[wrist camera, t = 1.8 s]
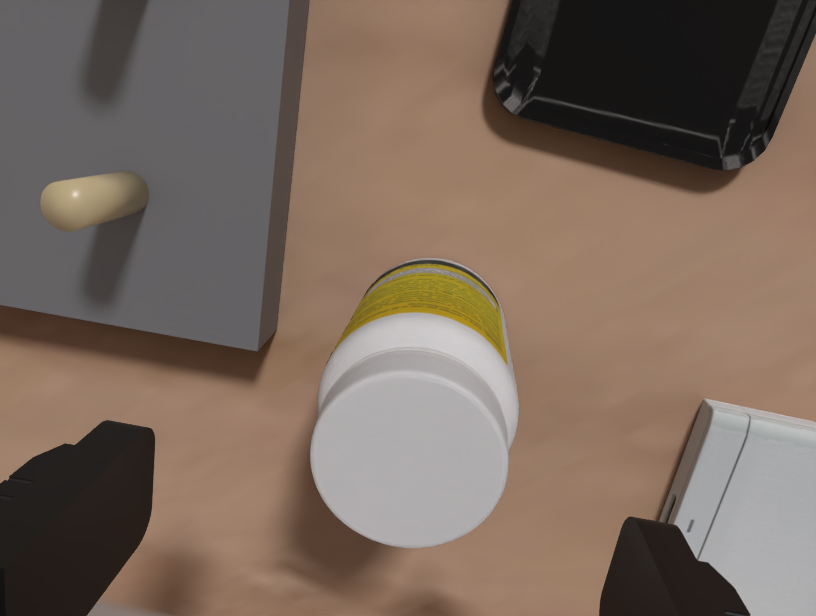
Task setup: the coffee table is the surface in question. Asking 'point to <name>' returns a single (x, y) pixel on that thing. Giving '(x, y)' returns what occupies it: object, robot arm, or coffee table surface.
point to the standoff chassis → (149, 161)
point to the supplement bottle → (417, 408)
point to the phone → (657, 72)
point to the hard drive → (751, 504)
